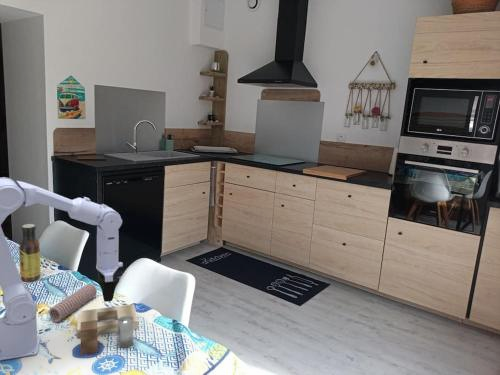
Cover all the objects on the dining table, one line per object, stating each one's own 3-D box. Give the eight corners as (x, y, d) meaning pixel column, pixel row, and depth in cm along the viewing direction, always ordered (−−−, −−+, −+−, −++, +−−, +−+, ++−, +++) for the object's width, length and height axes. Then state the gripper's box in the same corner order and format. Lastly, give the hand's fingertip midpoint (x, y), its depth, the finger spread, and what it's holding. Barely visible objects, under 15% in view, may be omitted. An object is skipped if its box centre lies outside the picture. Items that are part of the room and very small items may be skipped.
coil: (60, 311, 108) (99, 284, 125) (46, 306, 109) (87, 280, 126) (59, 325, 109) (98, 297, 126) (45, 320, 110) (85, 293, 127)
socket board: (77, 338, 103) (77, 329, 102) (78, 318, 112) (77, 311, 111) (137, 328, 109) (137, 321, 109) (134, 311, 118) (134, 304, 118)
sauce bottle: (21, 275, 136) (19, 222, 132) (41, 273, 139) (39, 221, 135) (19, 283, 130) (16, 228, 126) (40, 281, 133) (38, 227, 129)
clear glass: (117, 349, 100) (118, 325, 98) (116, 340, 103) (117, 317, 102) (133, 346, 101) (134, 322, 100) (132, 338, 105) (132, 315, 104)
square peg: (80, 355, 96) (80, 330, 95) (80, 346, 100) (80, 322, 98) (97, 352, 98) (97, 328, 96) (97, 343, 101) (97, 319, 100)
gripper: (124, 258, 101) (124, 304, 104) (120, 240, 114) (120, 281, 117) (96, 260, 98) (96, 308, 101) (95, 241, 111) (95, 284, 114)
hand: (107, 294), depth 109 cm, fingers open, 7 cm apart
